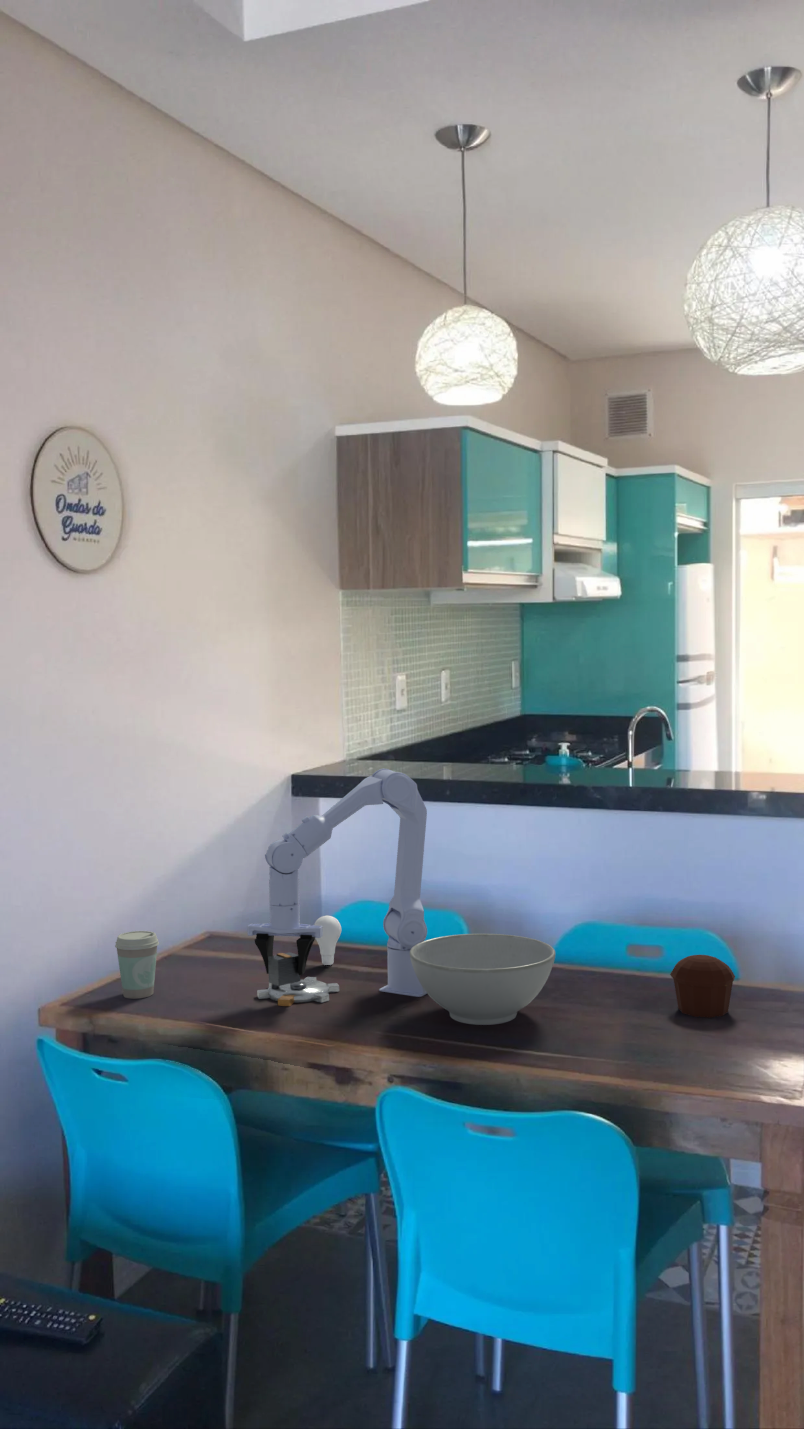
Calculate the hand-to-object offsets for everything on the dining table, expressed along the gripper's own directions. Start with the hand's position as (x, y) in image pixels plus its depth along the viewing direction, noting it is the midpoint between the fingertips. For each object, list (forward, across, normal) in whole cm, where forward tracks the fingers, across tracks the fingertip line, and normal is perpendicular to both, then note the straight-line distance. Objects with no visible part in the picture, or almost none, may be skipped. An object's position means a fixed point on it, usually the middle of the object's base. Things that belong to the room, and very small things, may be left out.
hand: (285, 973), depth 229 cm
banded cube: (+1, 0, +1) cm, 2 cm away
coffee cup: (+6, +31, -2) cm, 32 cm away
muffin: (+6, -78, -6) cm, 79 cm away
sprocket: (+6, -1, -6) cm, 8 cm away
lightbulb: (+6, -1, -28) cm, 28 cm away
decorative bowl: (+6, -38, +2) cm, 39 cm away
